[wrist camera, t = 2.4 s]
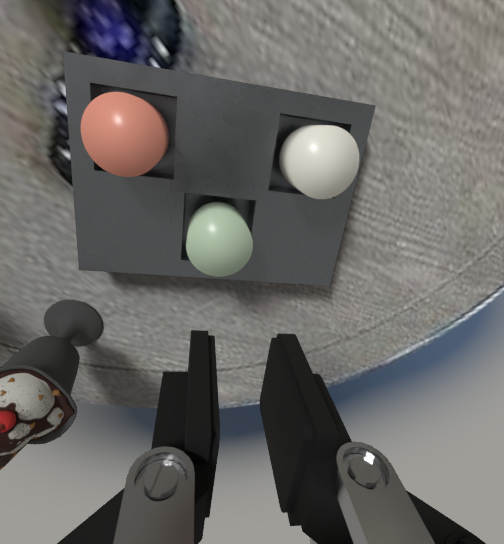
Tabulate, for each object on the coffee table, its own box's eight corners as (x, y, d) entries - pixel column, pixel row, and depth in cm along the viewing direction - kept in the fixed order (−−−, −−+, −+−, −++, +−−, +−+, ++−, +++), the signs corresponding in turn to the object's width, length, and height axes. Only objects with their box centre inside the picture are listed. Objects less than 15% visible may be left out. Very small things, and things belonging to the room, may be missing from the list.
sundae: (83, 278, 29) (-22, 416, 15) (126, 335, 32) (69, 494, 18) (16, 309, 29) (-145, 472, 16) (65, 362, 32) (-36, 539, 18)
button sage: (250, 205, 25) (257, 217, 21) (242, 260, 26) (248, 278, 23) (189, 198, 24) (188, 210, 21) (186, 255, 26) (184, 274, 22)
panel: (354, 107, 26) (375, 105, 23) (316, 269, 32) (329, 286, 28) (82, 61, 23) (62, 51, 19) (92, 253, 28) (79, 269, 25)
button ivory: (345, 129, 23) (367, 131, 20) (330, 192, 25) (349, 202, 22) (284, 120, 23) (298, 120, 19) (274, 185, 24) (285, 195, 21)
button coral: (170, 102, 21) (165, 98, 18) (167, 173, 23) (162, 181, 20) (97, 90, 20) (78, 85, 17) (100, 164, 22) (83, 172, 19)
